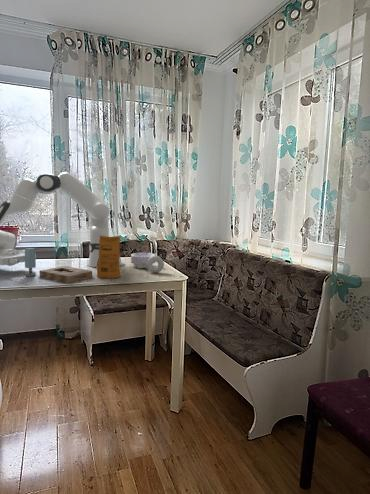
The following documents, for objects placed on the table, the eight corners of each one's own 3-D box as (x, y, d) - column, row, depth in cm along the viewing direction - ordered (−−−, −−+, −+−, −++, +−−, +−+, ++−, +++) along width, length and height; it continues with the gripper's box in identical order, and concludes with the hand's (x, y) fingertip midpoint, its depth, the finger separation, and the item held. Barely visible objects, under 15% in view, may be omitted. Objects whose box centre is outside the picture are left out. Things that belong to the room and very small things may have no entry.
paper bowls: (133, 270, 199) (134, 256, 198) (128, 265, 213) (128, 252, 212) (158, 268, 205) (158, 256, 204) (151, 264, 219) (151, 252, 218)
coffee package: (98, 274, 184) (98, 234, 181) (121, 274, 185) (121, 235, 182) (95, 278, 175) (95, 236, 172) (119, 279, 176) (119, 237, 173)
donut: (163, 272, 195) (164, 255, 194) (163, 273, 192) (164, 256, 191) (146, 272, 194) (146, 255, 193) (146, 273, 191) (146, 256, 190)
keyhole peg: (23, 276, 174) (22, 248, 172) (31, 274, 178) (31, 247, 176) (29, 277, 172) (28, 249, 170) (37, 275, 176) (37, 248, 174)
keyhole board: (39, 277, 173) (39, 270, 173) (64, 272, 187) (64, 265, 186) (68, 283, 163) (68, 276, 162) (92, 277, 177) (92, 270, 176)
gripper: (-10, 253, 173) (6, 256, 166) (26, 249, 191) (42, 252, 184) (-10, 266, 174) (7, 269, 167) (26, 260, 192) (42, 263, 185)
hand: (25, 260), depth 176 cm, fingers open, 8 cm apart
